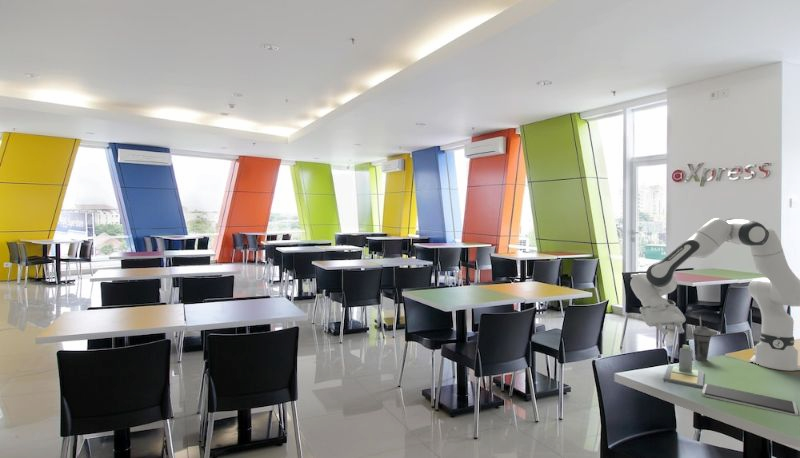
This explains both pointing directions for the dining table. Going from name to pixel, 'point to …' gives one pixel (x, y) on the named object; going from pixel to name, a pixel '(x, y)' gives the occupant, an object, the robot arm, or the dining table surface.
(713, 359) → the dining table surface
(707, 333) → the beverage cup
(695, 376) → the colour board
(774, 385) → the dining table surface
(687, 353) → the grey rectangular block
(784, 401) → the grey tray
